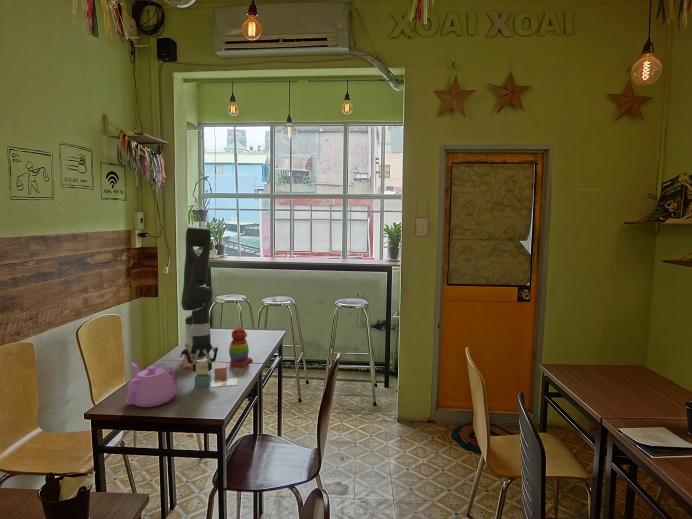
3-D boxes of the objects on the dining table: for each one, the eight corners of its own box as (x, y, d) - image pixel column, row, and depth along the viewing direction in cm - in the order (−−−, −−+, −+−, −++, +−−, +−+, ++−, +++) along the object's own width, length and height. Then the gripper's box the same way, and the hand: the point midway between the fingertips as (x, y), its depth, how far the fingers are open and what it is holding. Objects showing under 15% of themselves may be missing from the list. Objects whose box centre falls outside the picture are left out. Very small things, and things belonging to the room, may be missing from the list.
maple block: (197, 371, 194) (196, 359, 193) (209, 370, 195) (208, 359, 194) (196, 374, 189) (195, 363, 189) (208, 374, 190) (207, 362, 190)
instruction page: (212, 380, 196) (212, 380, 196) (237, 378, 198) (237, 378, 198) (210, 387, 188) (210, 386, 188) (237, 385, 191) (237, 384, 191)
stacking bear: (244, 367, 213) (243, 331, 211) (225, 366, 215) (224, 330, 213) (254, 360, 223) (253, 326, 222) (235, 359, 225) (234, 325, 224)
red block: (215, 375, 203) (215, 365, 202) (226, 374, 204) (226, 364, 203) (214, 379, 198) (214, 368, 197) (226, 378, 199) (225, 367, 198)
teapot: (156, 385, 191) (154, 354, 190) (190, 395, 180) (189, 362, 178) (106, 404, 172) (104, 369, 171) (141, 416, 161) (139, 379, 160)
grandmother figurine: (181, 369, 211) (179, 343, 209) (179, 367, 214) (178, 341, 213) (197, 367, 214) (196, 341, 213) (196, 364, 217) (195, 339, 216)
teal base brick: (196, 381, 195) (196, 373, 194) (210, 380, 196) (210, 371, 196) (195, 386, 189) (194, 377, 189) (209, 385, 190) (209, 376, 190)
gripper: (219, 329, 196) (220, 367, 197) (184, 331, 193) (186, 369, 194) (217, 334, 188) (219, 373, 190) (182, 336, 185) (183, 375, 187)
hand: (202, 371), depth 192 cm, fingers closed on maple block, 5 cm apart
